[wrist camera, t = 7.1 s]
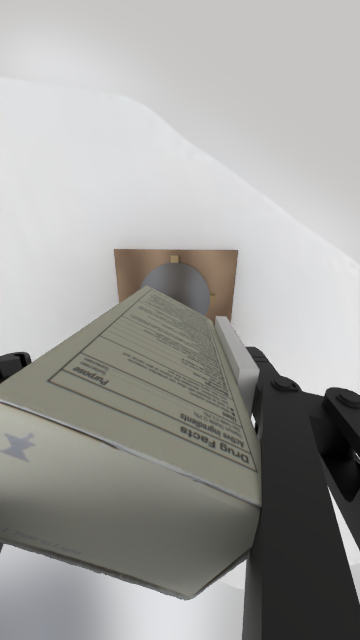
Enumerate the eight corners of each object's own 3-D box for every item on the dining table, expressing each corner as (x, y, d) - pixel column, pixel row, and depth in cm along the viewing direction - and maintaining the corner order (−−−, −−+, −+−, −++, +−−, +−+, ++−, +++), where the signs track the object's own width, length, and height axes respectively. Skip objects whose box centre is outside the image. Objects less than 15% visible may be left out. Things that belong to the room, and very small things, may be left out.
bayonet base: (125, 330, 29) (116, 341, 26) (117, 249, 25) (106, 248, 22) (227, 332, 29) (233, 343, 25) (235, 250, 25) (243, 249, 21)
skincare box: (124, 328, 16) (-61, 528, 4) (147, 281, 14) (-38, 385, 3) (190, 361, 16) (186, 614, 5) (217, 320, 15) (304, 534, 3)
